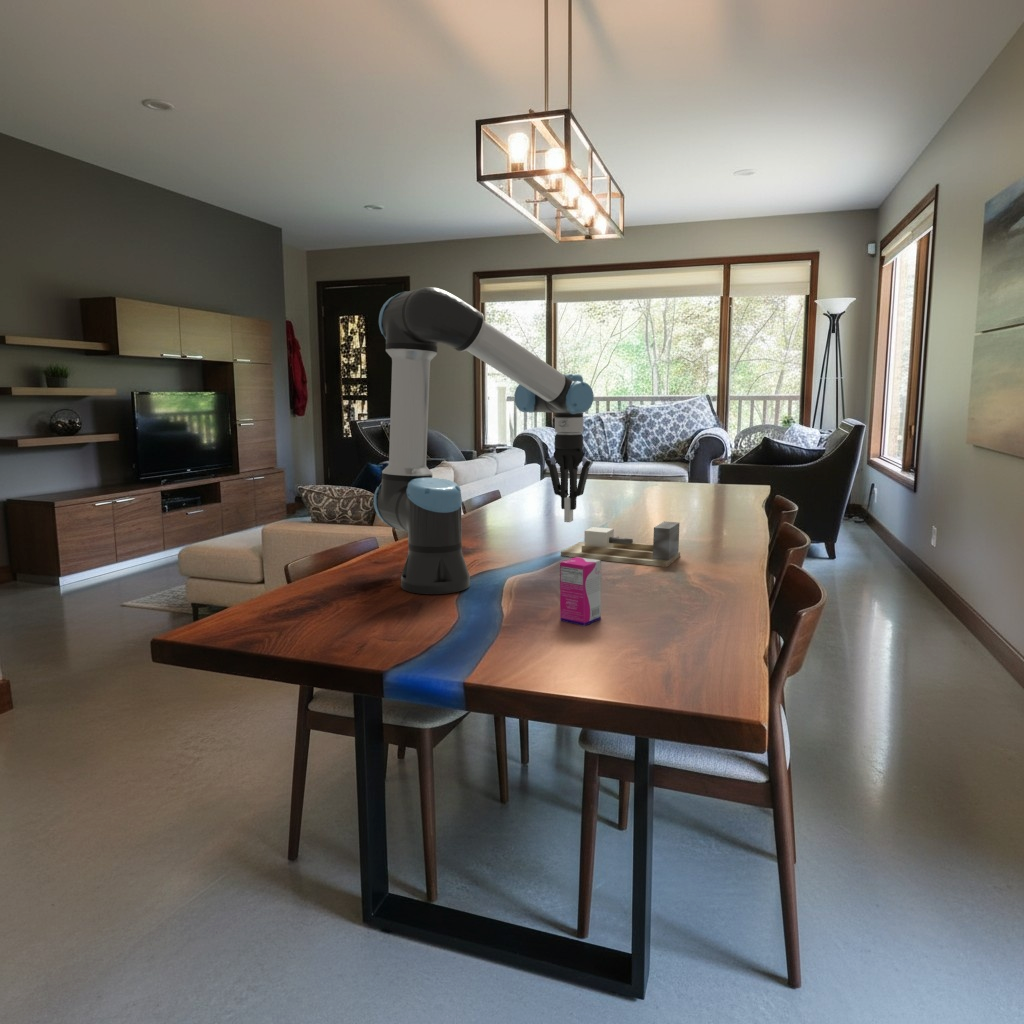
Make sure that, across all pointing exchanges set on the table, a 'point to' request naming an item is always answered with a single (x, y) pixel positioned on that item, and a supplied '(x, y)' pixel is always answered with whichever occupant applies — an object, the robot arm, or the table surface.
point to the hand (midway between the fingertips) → (568, 521)
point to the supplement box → (580, 590)
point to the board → (636, 549)
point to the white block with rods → (603, 538)
